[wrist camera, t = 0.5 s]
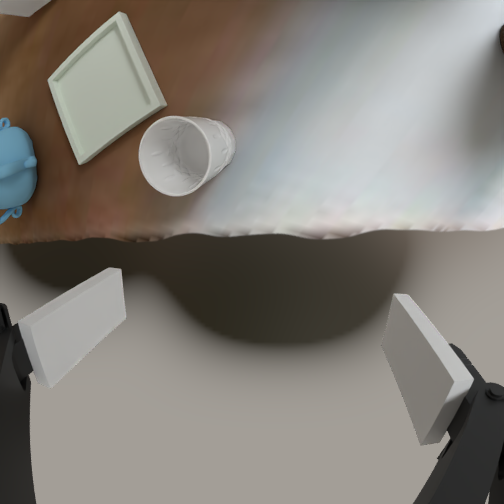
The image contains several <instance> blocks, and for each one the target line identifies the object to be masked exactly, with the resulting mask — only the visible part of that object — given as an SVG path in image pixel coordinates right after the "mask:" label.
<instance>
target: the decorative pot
mask: <svg viewBox="0 0 504 504" xmlns="http://www.w3.org/2000/svg"><path fill="white" fill-rule="evenodd" d="M3 122H4V124H5V127H2V123H3ZM36 164H37V159H36V157H35V154H34V149H33V142H32V140H31V139H30V137H29V135H28V134H27V132H25V131H24V130H23V129H21V128H19V127H10V121H9V119H8V118H2V119H1V120H0V209H8V210H7V211H6V212H5V213H4V215H3V216H2V217H1V218H0V224H2V223H3V222H4V221H6V219H7V218H8V217H9V216H10V215H12V217H14V218H18V217H20V216H21V214H22V206H21V205H22V204H24V203H26V202H27V201H28V200H29V199H30V198H31V196H32V194H33V192H34V190H35V188H36V182H37V171H36ZM16 209H17V213H16V214H15V212H14V211H15V210H16Z"/></svg>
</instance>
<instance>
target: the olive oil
mask: <svg viewBox="0 0 504 504" xmlns="http://www.w3.org/2000/svg"><path fill="white" fill-rule="evenodd" d="M500 41H501V46H502V50H503V53H504V25H503V26H502V28H501V32H500Z"/></svg>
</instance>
